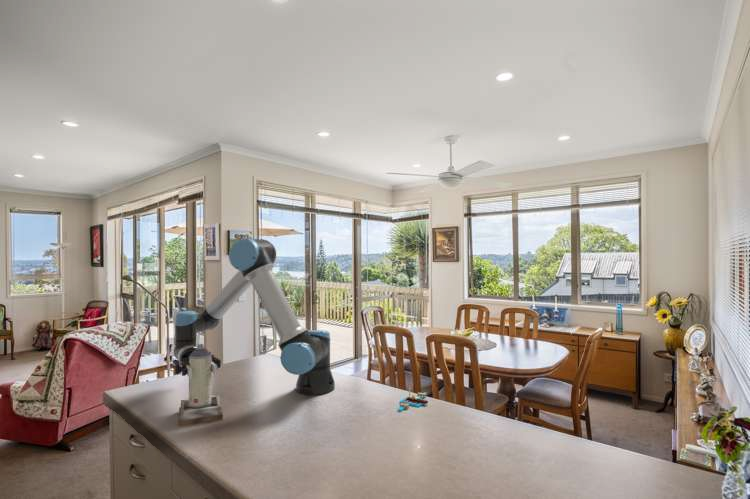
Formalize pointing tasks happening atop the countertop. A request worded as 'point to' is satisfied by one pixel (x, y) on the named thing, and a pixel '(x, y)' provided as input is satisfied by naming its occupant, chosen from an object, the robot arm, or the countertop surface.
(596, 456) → the countertop surface
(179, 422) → the shallow tray
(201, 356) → the aerosol can
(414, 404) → the toy boat
